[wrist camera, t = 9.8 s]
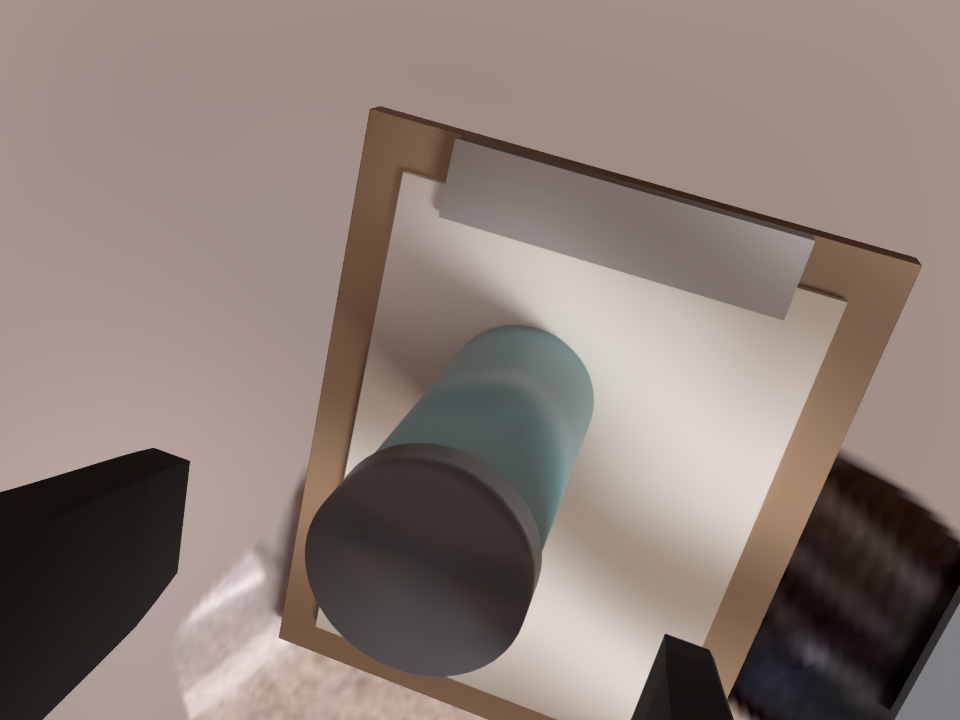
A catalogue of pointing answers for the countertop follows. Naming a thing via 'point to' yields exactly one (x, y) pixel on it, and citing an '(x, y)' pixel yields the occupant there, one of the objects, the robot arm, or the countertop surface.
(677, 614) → the clipboard
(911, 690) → the plate
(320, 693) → the countertop surface
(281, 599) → the countertop surface
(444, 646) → the tumbler
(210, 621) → the countertop surface
